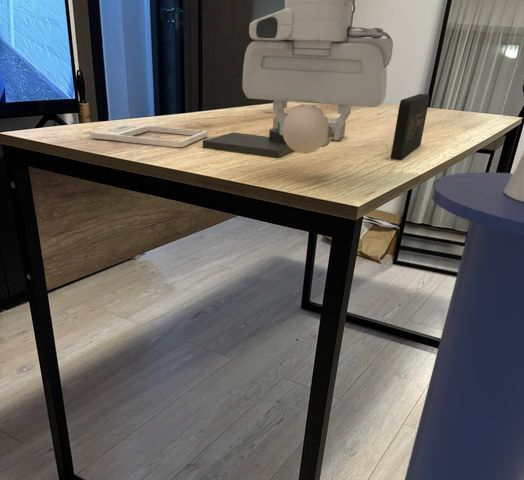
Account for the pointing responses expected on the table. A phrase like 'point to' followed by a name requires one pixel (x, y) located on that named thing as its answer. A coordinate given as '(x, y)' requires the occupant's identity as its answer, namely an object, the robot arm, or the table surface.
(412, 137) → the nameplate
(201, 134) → the photo frame
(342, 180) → the table surface
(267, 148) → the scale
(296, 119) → the light bulb
